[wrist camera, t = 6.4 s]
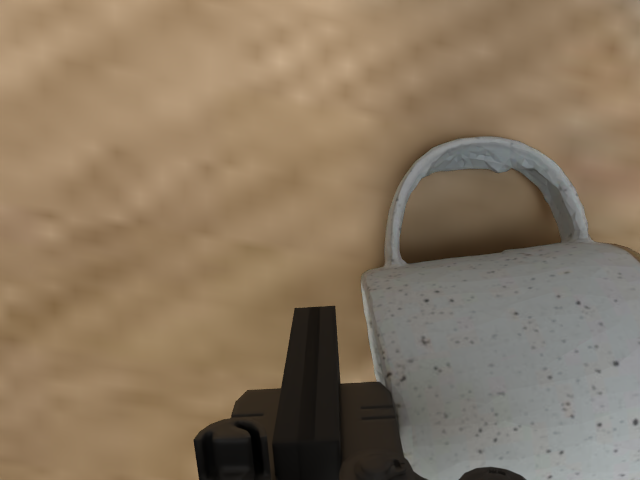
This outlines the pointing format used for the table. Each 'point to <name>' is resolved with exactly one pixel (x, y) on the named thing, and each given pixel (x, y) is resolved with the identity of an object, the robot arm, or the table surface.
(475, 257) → the ceramic mug
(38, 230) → the table surface
